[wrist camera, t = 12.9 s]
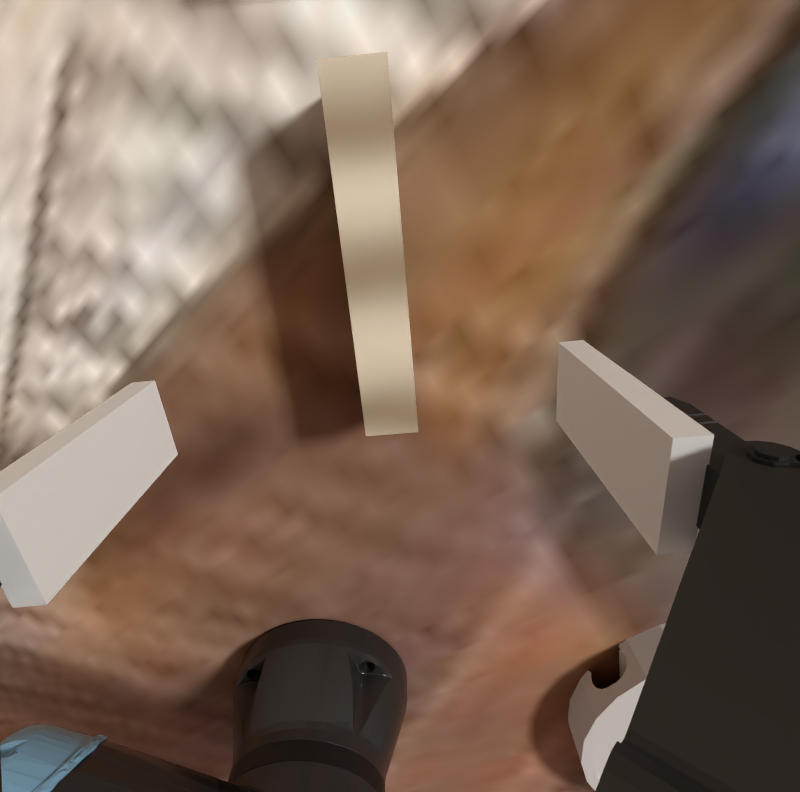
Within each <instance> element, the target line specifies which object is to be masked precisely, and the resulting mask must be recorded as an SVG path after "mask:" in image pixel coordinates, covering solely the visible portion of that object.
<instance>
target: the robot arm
mask: <svg viewBox="0 0 800 792" xmlns="http://www.w3.org/2000/svg"><path fill="white" fill-rule="evenodd" d="M556 421H557V422H558V424H559V425H560V426H561V428H562V429H563V430H564V432H565V433H566V434H567V436H568V437H569V438H570V440H571V441H572V442H573V444H574V445H575V446H576V448H577V449H578V450H579V452H580V453H581V454H582V456H583V457H584V458H585V460H586V461H587V462H588V464H589V465H590V466H591V468H592V469H593V470H594V472H595V473H596V474H597V476H598V477H599V478H600V480H601V481H602V482H603V484H604V485H605V486H606V488H607V489H608V490H609V492H610V493H611V495H612V496H613V497H614V499H615V500H616V501H617V503H618V504H619V505H620V507H621V508H622V509H623V511H624V512H625V513H626V515H627V516H628V517H629V519H630V520H631V521H632V523H633V524H634V525H635V527H636V528H637V529H638V531H639V532H640V533H641V535H642V536H643V537H644V539H645V540H646V541H647V543H648V544H649V545H650V547H651V548H652V549H653V551H654V552H655V553H656V555H664V554H676V553H688V552H691V555H690V558H689V561H688V563H687V566H686V569H685V572H684V575H683V577H682V580H681V583H680V586H679V588H678V591H677V594H676V597H675V600H674V602H673V605H672V608H671V611H670V613H669V616H668V619H667V622H666V625H665V627H664V630H663V633H662V636H661V638H660V641H659V644H658V647H657V649H656V652H655V655H654V658H653V661H652V663H651V666H650V669H649V672H648V674H647V677H646V680H645V683H644V686H643V688H642V691H641V694H640V697H639V699H638V702H637V705H636V708H635V711H634V713H633V716H632V719H631V722H630V724H629V727H628V730H627V732H626V735H625V737H624V739H623V741H622V743H620V742H618V741H617V742H616V744H615V745H614V747H613V748H612V750H611V753H610V755H609V757H608V760H607V762H606V765H605V767H604V769H603V772H602V775H601V777H600V780H599V783H598V785H597V788H596V791H595V792H800V451H799V450H796V449H794V448H792V447H789V446H785V445H781V444H777V443H772V442H764V441H744V440H742V439H741V438H740V437H738V436H737V435H735V434H734V433H732V432H731V431H729V430H728V429H726V428H725V427H723V426H722V425H720V424H719V423H715V421H714V420H713V419H711V418H710V417H708V416H707V415H704V413H703V412H701V411H700V410H698V409H697V408H695V407H694V406H692V405H691V404H688V403H686V402H683V401H680V400H677V399H675V398H672V397H664V398H663V397H661V396H660V395H658V394H657V393H656V392H654V391H653V390H652V389H650V388H649V387H647V386H646V385H645V384H643V383H642V382H640V381H639V380H638V379H636V378H635V377H633V376H632V375H631V374H629V373H628V372H627V371H625V370H624V369H622V368H621V367H620V366H618V365H617V364H615V363H614V362H613V361H611V360H610V359H608V358H607V357H606V356H604V355H603V354H602V353H600V352H599V351H597V350H596V349H595V348H593V347H592V346H590V345H589V344H588V343H586V342H585V341H583V340H579V341H568V342H559V351H558V381H557V410H556ZM177 455H178V453H177V450H176V447H175V444H174V440H173V437H172V434H171V431H170V428H169V425H168V421H167V418H166V415H165V412H164V409H163V405H162V402H161V399H160V396H159V393H158V389H157V386H156V383H155V381H144V382H134V383H131V384H129V385H128V386H126V387H125V388H123V389H122V390H120V391H119V392H117V393H116V394H114V395H113V396H111V397H110V398H108V399H107V400H105V401H104V402H102V403H101V404H99V405H98V406H96V407H95V408H94V409H92V410H91V411H89V412H88V413H86V414H85V415H83V416H82V417H80V418H79V419H77V420H76V421H74V422H73V423H71V424H70V425H68V426H67V427H65V428H64V429H62V430H61V431H59V432H58V433H56V434H55V435H53V436H52V437H51V438H49V439H48V440H46V441H45V442H43V443H42V444H40V445H39V446H37V447H36V448H34V449H33V450H31V451H30V452H28V453H27V454H25V455H24V456H22V457H21V458H19V459H18V460H16V461H15V462H13V463H12V464H11V465H9V466H8V467H6V468H5V469H3V470H2V471H0V586H1V587H2V589H3V591H4V593H5V595H6V597H7V598H8V600H9V602H10V604H11V606H12V608H14V607H26V606H39V605H47V604H48V603H49V602H50V601H51V599H52V598H53V597H54V596H55V595H56V594H57V593H58V591H59V590H60V589H61V588H62V587H63V586H64V584H65V583H66V582H67V581H68V580H69V579H70V578H71V576H72V575H73V574H74V573H75V572H76V571H77V570H78V568H79V567H80V566H81V565H82V564H83V563H84V562H85V560H86V559H87V558H88V557H89V556H90V555H91V554H92V552H93V551H94V550H95V549H96V548H97V547H98V545H99V544H100V543H101V542H102V541H103V540H104V539H105V537H106V536H107V535H108V534H109V533H110V532H111V531H112V529H113V528H114V527H115V526H116V525H117V524H118V523H119V521H120V520H121V519H122V518H123V517H124V516H125V514H126V513H127V512H128V511H129V510H130V509H131V508H132V506H133V505H134V504H135V503H136V502H137V501H138V500H139V498H140V497H141V496H142V495H143V494H144V493H145V492H146V490H147V489H148V488H149V487H150V486H151V485H152V484H153V482H154V481H155V480H156V479H157V478H158V477H159V475H160V474H161V473H162V472H163V471H164V470H165V469H166V467H167V466H168V465H169V464H170V463H171V462H172V461H173V459H174V458H175V457H176V456H177ZM698 528H699V529H700V530H699V533H698V536H697V530H698ZM696 536H697V539H696ZM406 706H407V676H406V670H405V667H404V665H403V662H402V660H401V658H400V657H399V655H398V654H397V653H396V651H395V650H394V649H393V648H392V647H391V646H390V645H389V644H388V643H387V642H385V641H384V640H383V639H382V638H380V637H379V636H377V635H375V634H374V633H372V632H370V631H368V630H365V629H363V628H361V627H358V626H355V625H352V624H348V623H344V622H338V621H330V620H307V621H300V622H294V623H290V624H287V625H283V626H281V627H278V628H276V629H274V630H272V631H270V632H268V633H266V634H265V635H263V636H262V637H260V638H259V639H258V640H257V641H256V642H255V643H254V644H253V645H252V646H251V647H250V648H249V650H248V651H247V653H246V655H245V656H244V659H243V661H242V664H241V667H240V670H239V673H238V676H237V679H236V683H235V688H234V696H233V765H232V769H231V773H230V776H229V780H228V782H226V781H223V780H220V779H217V778H215V777H212V776H209V775H206V774H203V773H200V772H197V771H194V770H191V769H188V768H185V767H182V766H179V765H176V764H173V763H170V762H167V761H164V760H161V759H158V758H156V757H153V756H150V755H147V754H144V753H141V752H138V751H135V750H132V749H129V748H126V747H123V746H120V745H117V744H114V743H111V742H108V741H105V740H106V739H107V736H105V735H102V734H100V735H97V736H95V737H94V736H90V735H86V734H83V733H79V732H75V731H72V730H68V729H64V728H61V727H57V726H53V725H48V724H37V725H32V726H28V727H25V728H23V729H20V730H18V731H16V732H15V733H13V734H11V735H10V736H8V737H7V738H6V739H4V740H3V741H2V742H0V792H385V779H386V775H387V772H388V768H389V765H390V762H391V758H392V755H393V752H394V749H395V745H396V742H397V739H398V736H399V732H400V729H401V726H402V723H403V719H404V716H405V712H406Z"/></svg>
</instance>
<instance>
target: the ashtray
mask: <svg viewBox="0 0 800 792" xmlns="http://www.w3.org/2000/svg"><path fill="white" fill-rule="evenodd" d="M665 625H666V623H665V624H661V625H658V626H656V627H653V628H651V629H649V630H646V631H644V632H642V633H639V634H637V635H635V636H632V637H630V638H628V639H626V640H625V641H623V642H622V643H620V644H619V647H620V649H621V650H620V649H619V666H620V679H619V680H618V681H617V682H616V683H614V684H612V685H611V686H609V687H607V688H604V689H599V688H596V687H595V686H594V685H593V683H592V679H591V672H589V671H587V672H586V673H585V674H584V675H583V676H582V677H581V678H580V680H579V682H578V684H577V686H576V688H575V690H574V692H573V694H572V696H571V698H570V703H569V712H568V724H569V727H570V730H571V733H572V736H573V739H574V743H575V746H576V749H577V752H578V755H579V758H580V761H581V764H582V767H583V770H584V774H585V777H586V780H587V782H588V783H589V785H590V786H591V787H592V788H593V789H594V790H595V791H596V788H597V785H598V783H599V780H600V777H601V775H602V772H603V769H604V767H605V765H606V762H607V760H608V757H609V755H610V753H611V750H612V748H613V747H614V745H615V744H616V742H617V741H618V742H620V743H622V741H623V739H624V737H625V735H626V732H627V730H628V727H629V724H630V722H631V719H632V716H633V713H634V711H635V708H636V705H637V702H638V699H639V697H640V694H641V691H642V688H643V686H644V683H645V680H646V677H647V674H648V672H649V669H650V666H651V663H652V661H653V658H654V655H655V652H656V649H657V647H658V644H659V641H660V638H661V636H662V633H663V630H664V627H665Z"/></svg>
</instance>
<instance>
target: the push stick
mask: <svg viewBox="0 0 800 792" xmlns="http://www.w3.org/2000/svg"><path fill="white" fill-rule="evenodd" d="M316 60H317V67H318V75H319V83H320V90H321V98H322V105H323V113H324V121H325V128H326V136H327V143H328V151H329V159H330V166H331V174H332V181H333V189H334V197H335V204H336V212H337V220H338V227H339V235H340V242H341V250H342V258H343V265H344V273H345V280H346V288H347V296H348V303H349V311H350V318H351V326H352V334H353V341H354V349H355V357H356V364H357V372H358V379H359V387H360V395H361V402H362V410H363V417H364V425H365V433H366V436H375V435H387V434H400V433H412V432H418V422H417V409H416V397H415V385H414V373H413V361H412V349H411V336H410V324H409V312H408V300H407V288H406V276H405V264H404V251H403V239H402V227H401V215H400V203H399V191H398V178H397V166H396V154H395V142H394V130H393V118H392V105H391V93H390V81H389V69H388V57H387V52H382V53H372V54H363V55H354V56H344V57H335V58H325V59H316Z"/></svg>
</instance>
